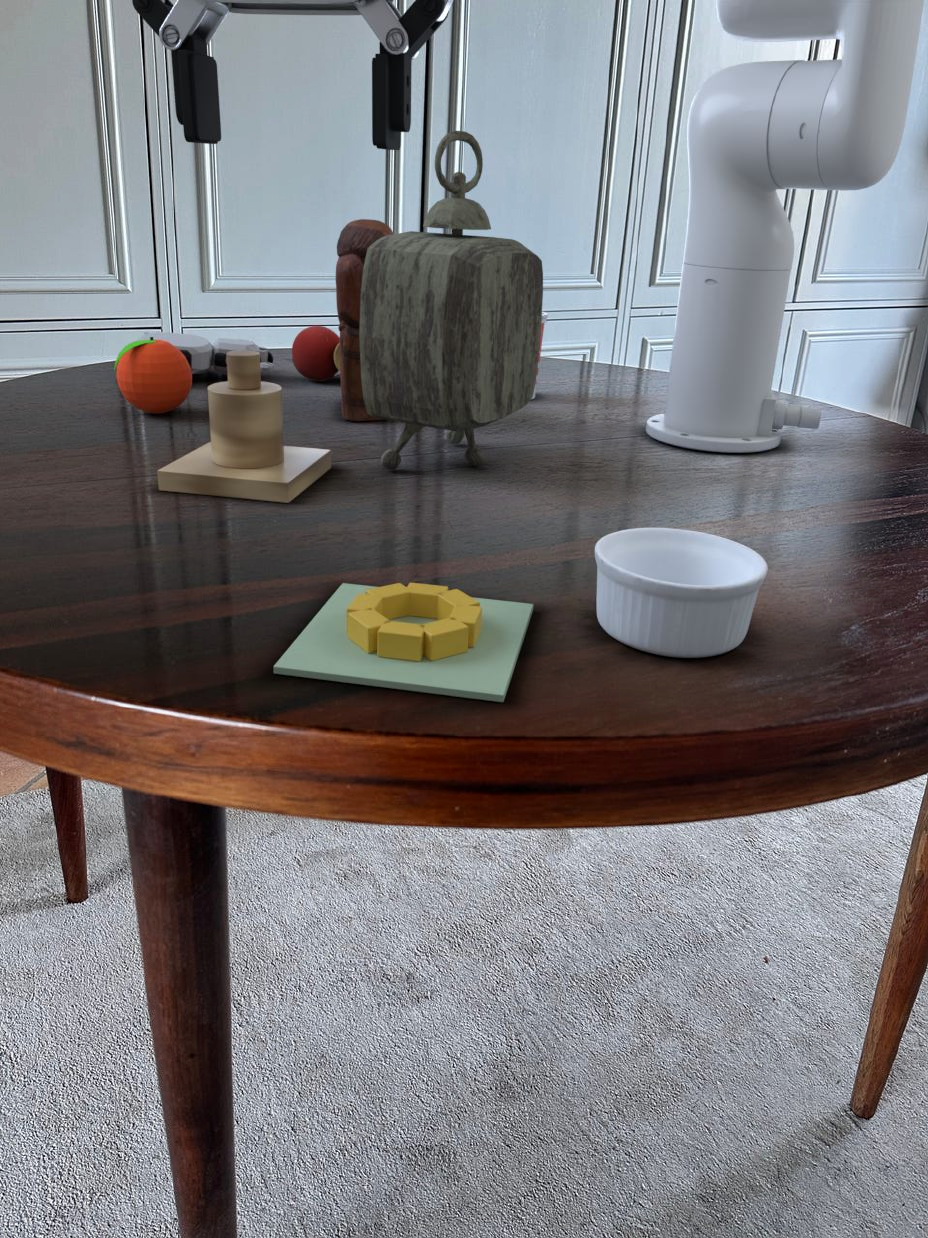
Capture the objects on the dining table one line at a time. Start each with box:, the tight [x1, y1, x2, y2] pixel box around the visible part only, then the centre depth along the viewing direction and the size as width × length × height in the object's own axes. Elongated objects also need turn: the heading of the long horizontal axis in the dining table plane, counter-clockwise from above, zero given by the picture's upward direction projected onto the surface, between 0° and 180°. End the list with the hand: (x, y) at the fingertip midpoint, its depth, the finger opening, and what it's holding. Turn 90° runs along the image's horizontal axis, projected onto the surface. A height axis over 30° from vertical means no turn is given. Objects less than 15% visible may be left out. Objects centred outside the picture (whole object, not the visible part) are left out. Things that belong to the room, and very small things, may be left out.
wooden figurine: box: [335, 218, 395, 422], centre depth 97 cm, size 12×6×18 cm, turn 3°
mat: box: [273, 582, 534, 703], centre depth 51 cm, size 11×11×1 cm
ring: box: [347, 582, 482, 662], centre depth 50 cm, size 7×7×1 cm
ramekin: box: [594, 527, 769, 659], centre depth 52 cm, size 9×9×4 cm
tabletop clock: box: [359, 130, 544, 471], centre depth 78 cm, size 14×9×25 cm, turn 152°
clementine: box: [113, 337, 193, 415], centre depth 94 cm, size 8×7×7 cm
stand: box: [156, 350, 332, 504], centre depth 74 cm, size 10×10×10 cm
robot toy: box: [136, 331, 275, 376], centre depth 112 cm, size 12×4×15 cm
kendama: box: [291, 325, 340, 382], centre depth 114 cm, size 8×6×18 cm
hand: (294, 145), depth 50 cm, fingers open, 9 cm apart
